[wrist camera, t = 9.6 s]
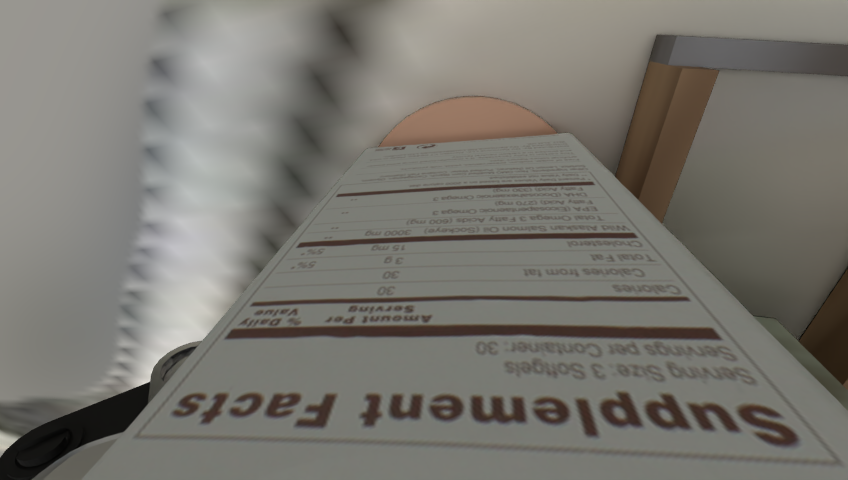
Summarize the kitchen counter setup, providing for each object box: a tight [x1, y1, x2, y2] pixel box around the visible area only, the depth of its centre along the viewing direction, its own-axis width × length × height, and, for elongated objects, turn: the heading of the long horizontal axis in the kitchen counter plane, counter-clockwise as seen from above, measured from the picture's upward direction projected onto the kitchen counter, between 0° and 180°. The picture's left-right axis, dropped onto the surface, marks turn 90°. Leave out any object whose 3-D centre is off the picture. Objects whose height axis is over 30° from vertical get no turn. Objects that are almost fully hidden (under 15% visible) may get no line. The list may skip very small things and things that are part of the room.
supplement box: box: [81, 133, 848, 480], centre depth 10 cm, size 7×7×13 cm
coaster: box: [379, 96, 557, 147], centre depth 17 cm, size 9×9×1 cm
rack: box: [615, 35, 848, 411], centre depth 13 cm, size 11×18×9 cm, turn 177°
